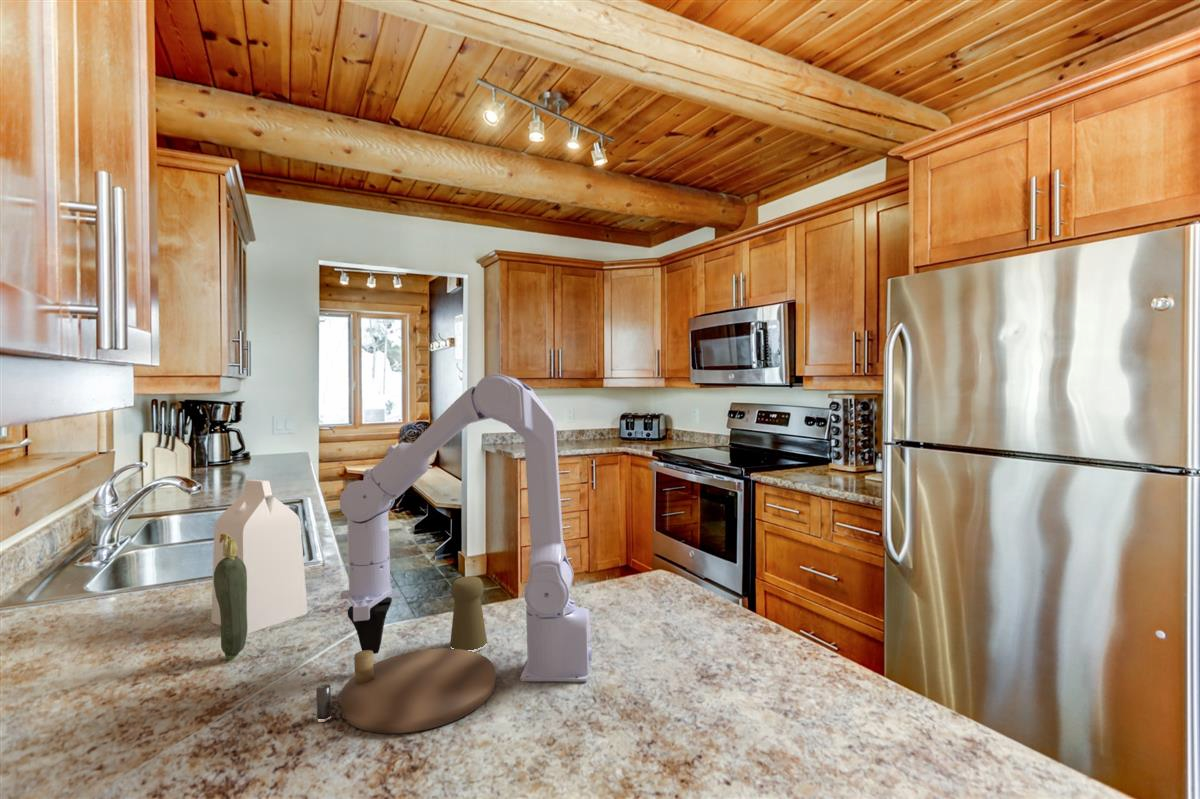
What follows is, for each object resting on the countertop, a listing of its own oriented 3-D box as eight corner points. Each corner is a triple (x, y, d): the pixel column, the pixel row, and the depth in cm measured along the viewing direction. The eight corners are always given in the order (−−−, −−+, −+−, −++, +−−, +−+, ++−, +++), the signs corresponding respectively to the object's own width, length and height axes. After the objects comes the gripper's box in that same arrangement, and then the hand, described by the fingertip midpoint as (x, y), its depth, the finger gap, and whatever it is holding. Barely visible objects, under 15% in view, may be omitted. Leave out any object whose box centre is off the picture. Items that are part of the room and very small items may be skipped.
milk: (307, 613, 109) (304, 478, 110) (244, 634, 100) (240, 486, 100) (274, 603, 116) (271, 475, 116) (211, 622, 106) (208, 482, 106)
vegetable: (254, 657, 90) (252, 531, 90) (227, 669, 86) (224, 537, 87) (237, 653, 92) (234, 529, 92) (209, 664, 88) (206, 535, 88)
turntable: (510, 658, 87) (509, 625, 87) (471, 734, 67) (470, 692, 67) (383, 657, 89) (382, 625, 89) (308, 731, 69) (307, 690, 69)
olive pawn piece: (478, 655, 89) (476, 584, 89) (442, 652, 90) (441, 583, 90) (493, 639, 95) (491, 573, 95) (459, 637, 96) (458, 572, 96)
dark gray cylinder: (476, 672, 83) (476, 644, 83) (444, 724, 70) (443, 692, 70) (367, 671, 85) (366, 644, 85) (314, 722, 71) (313, 690, 71)
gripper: (350, 550, 91) (352, 636, 91) (328, 577, 76) (330, 678, 76) (397, 546, 92) (399, 631, 92) (383, 572, 78) (386, 671, 78)
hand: (371, 652), depth 84 cm, fingers closed
